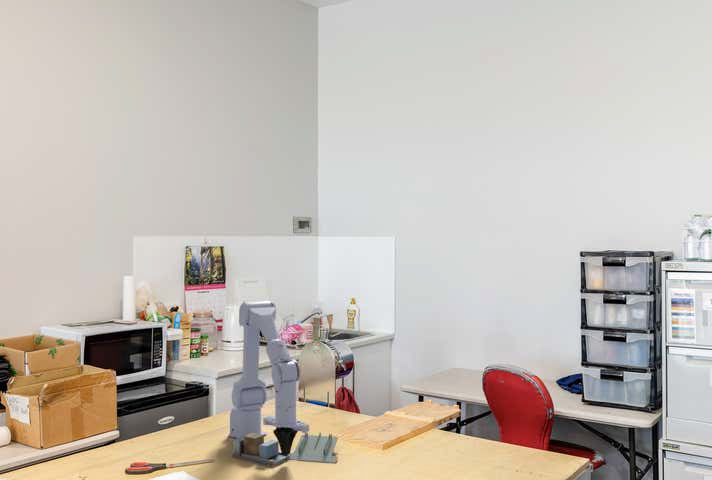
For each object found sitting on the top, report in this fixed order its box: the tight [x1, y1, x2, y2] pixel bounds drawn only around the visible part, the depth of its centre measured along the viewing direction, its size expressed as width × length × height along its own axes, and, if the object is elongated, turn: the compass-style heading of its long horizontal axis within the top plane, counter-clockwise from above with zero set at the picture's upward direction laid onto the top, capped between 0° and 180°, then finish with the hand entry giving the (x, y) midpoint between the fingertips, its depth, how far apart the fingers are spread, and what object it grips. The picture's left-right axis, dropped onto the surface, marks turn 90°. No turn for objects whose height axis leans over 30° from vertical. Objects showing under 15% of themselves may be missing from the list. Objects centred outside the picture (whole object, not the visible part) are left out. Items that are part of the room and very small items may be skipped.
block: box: [244, 433, 265, 456], centre depth 192 cm, size 4×4×5 cm
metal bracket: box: [287, 431, 339, 465], centre depth 194 cm, size 14×6×15 cm
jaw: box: [260, 439, 280, 459], centre depth 189 cm, size 3×5×4 cm, turn 148°
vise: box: [231, 434, 290, 467], centre depth 191 cm, size 15×8×5 cm, turn 58°
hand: (285, 454), depth 186 cm, fingers closed
